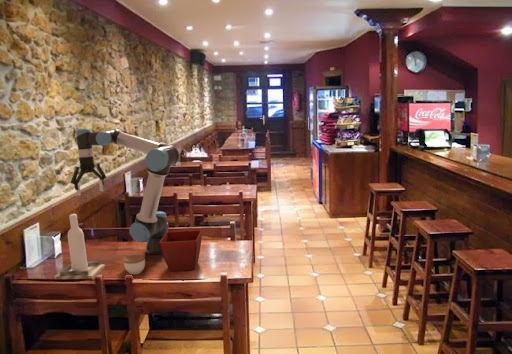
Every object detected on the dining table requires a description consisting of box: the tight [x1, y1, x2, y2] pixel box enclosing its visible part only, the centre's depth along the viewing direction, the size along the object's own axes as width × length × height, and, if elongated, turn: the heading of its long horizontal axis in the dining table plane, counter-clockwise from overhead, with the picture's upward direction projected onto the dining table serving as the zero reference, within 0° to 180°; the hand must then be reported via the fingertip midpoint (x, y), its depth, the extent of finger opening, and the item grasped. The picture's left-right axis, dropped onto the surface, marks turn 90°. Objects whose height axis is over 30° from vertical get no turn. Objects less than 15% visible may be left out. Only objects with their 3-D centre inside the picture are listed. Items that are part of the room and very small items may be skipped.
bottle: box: [66, 213, 88, 271], centre depth 247 cm, size 8×8×30 cm
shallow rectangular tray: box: [53, 261, 106, 280], centre depth 250 cm, size 20×16×4 cm
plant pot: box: [159, 229, 203, 272], centre depth 249 cm, size 19×19×17 cm
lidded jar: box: [122, 254, 146, 275], centre depth 246 cm, size 11×11×9 cm
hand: (90, 193), depth 271 cm, fingers open, 13 cm apart
